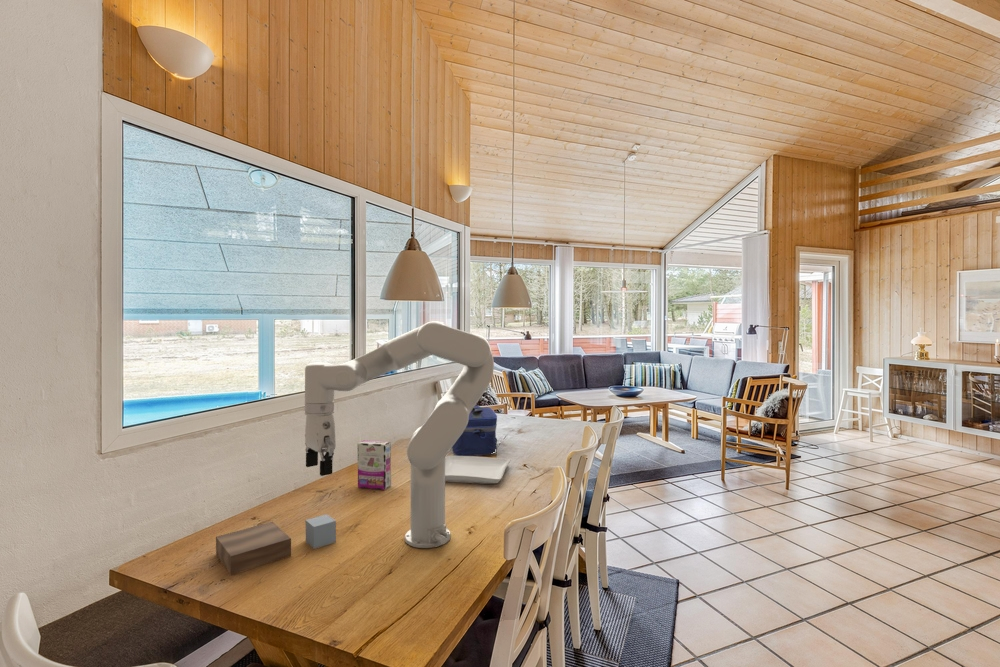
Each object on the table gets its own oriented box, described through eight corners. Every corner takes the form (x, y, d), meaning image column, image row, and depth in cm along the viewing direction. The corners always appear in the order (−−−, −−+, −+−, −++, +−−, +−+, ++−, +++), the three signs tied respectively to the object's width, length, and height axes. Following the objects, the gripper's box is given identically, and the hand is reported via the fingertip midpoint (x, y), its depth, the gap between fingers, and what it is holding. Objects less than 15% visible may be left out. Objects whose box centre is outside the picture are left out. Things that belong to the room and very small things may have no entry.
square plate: (500, 488, 178) (501, 478, 177) (428, 484, 182) (428, 474, 182) (511, 466, 204) (511, 457, 204) (447, 463, 209) (447, 454, 208)
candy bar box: (391, 485, 179) (391, 441, 178) (385, 490, 174) (385, 444, 174) (364, 483, 182) (363, 439, 181) (357, 487, 177) (356, 442, 176)
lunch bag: (501, 456, 218) (501, 411, 217) (454, 459, 214) (454, 412, 213) (489, 439, 248) (489, 399, 248) (448, 441, 244) (448, 400, 243)
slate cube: (335, 542, 134) (335, 520, 134) (314, 549, 130) (313, 526, 130) (327, 535, 138) (326, 514, 138) (305, 541, 134) (305, 520, 134)
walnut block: (291, 557, 126) (291, 538, 126) (231, 576, 116) (230, 556, 116) (272, 539, 136) (272, 521, 136) (216, 555, 127) (215, 536, 126)
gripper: (346, 411, 129) (345, 475, 130) (320, 402, 142) (319, 460, 142) (318, 414, 124) (317, 481, 125) (293, 404, 137) (293, 465, 137)
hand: (318, 470), depth 133 cm, fingers open, 9 cm apart
